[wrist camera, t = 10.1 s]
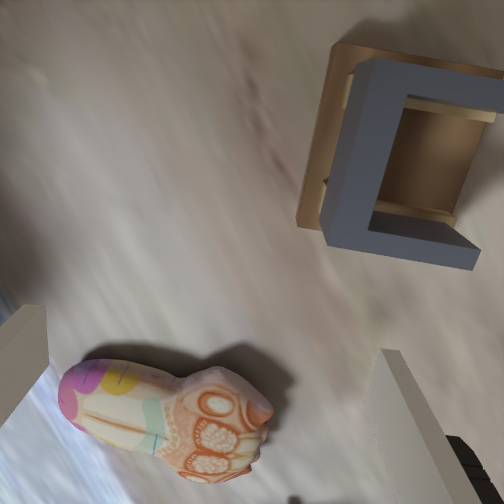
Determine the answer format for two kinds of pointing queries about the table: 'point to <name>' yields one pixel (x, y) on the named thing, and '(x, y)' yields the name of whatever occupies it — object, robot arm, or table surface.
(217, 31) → the table surface
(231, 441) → the sculpture
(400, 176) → the stand
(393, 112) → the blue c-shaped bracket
